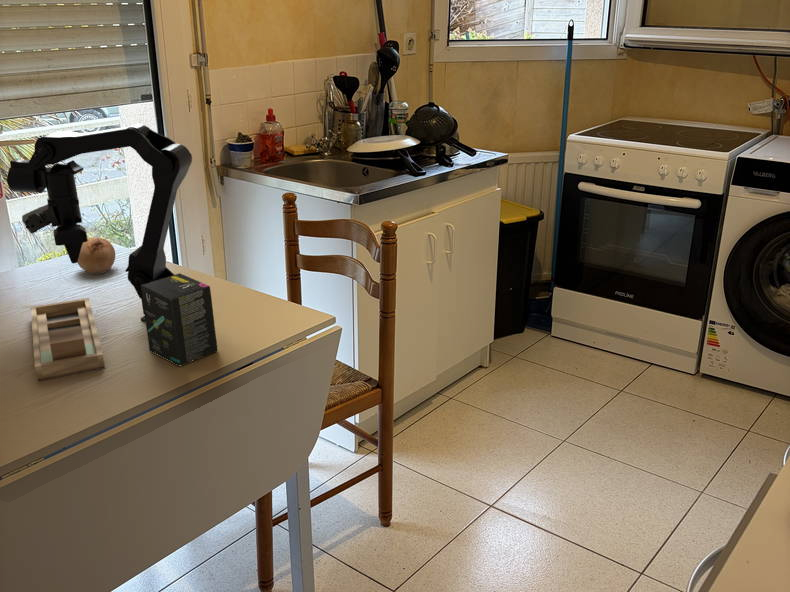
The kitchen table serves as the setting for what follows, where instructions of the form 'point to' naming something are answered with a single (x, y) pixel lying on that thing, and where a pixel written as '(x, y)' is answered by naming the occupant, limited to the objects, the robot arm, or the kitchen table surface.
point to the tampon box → (179, 318)
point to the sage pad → (47, 355)
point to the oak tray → (63, 318)
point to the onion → (96, 255)
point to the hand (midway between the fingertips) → (74, 262)
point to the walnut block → (67, 343)
